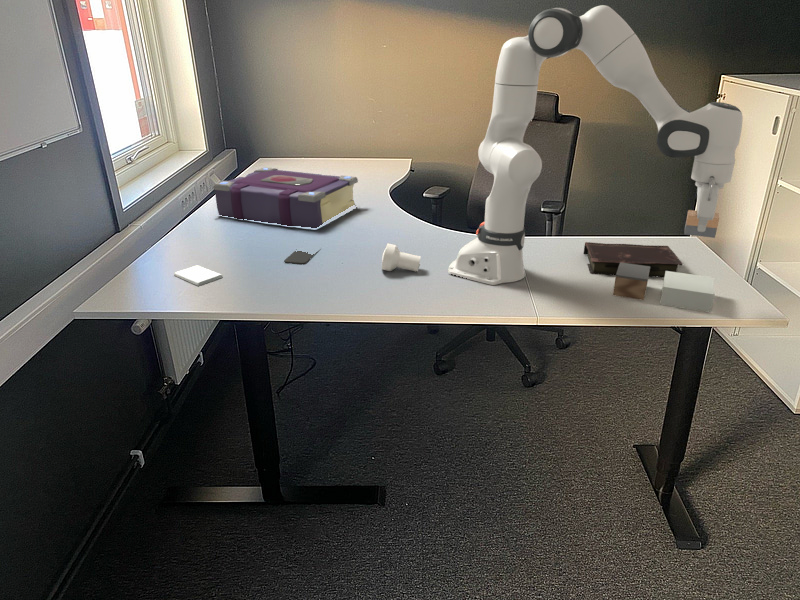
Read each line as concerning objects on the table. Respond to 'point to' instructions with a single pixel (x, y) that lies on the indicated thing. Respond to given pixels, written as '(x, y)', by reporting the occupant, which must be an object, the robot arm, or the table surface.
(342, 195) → the book
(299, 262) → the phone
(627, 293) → the walnut stand
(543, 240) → the table surface
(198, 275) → the external hard drive
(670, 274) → the grey stand
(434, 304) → the table surface
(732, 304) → the table surface
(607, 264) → the diary
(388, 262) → the spotlight
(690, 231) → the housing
